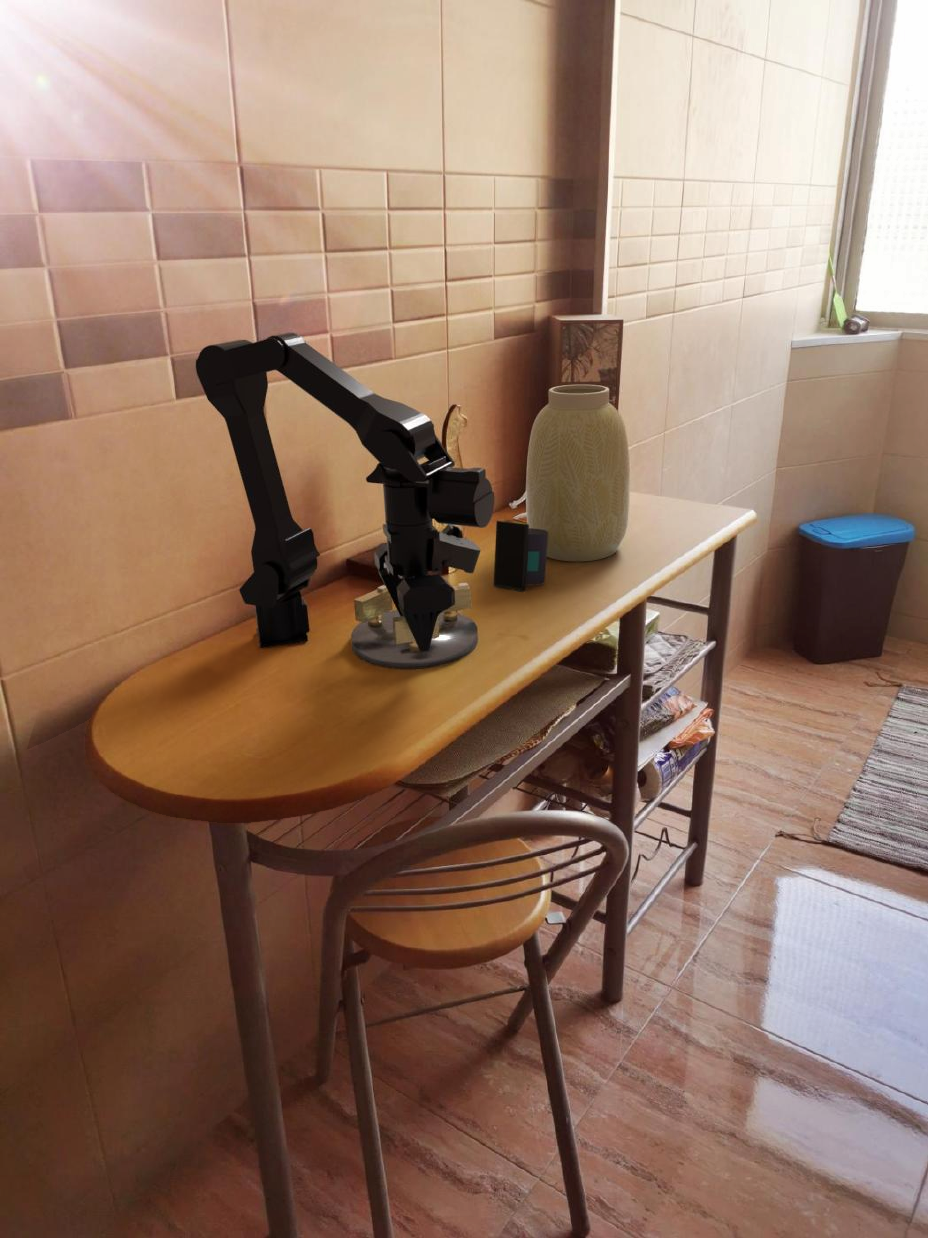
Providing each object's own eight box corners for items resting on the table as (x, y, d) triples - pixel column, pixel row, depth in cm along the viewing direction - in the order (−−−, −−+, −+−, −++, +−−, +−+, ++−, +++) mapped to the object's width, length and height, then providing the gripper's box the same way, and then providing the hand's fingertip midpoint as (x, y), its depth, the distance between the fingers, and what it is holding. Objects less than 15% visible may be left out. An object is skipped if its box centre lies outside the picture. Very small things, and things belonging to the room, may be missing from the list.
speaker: (518, 594, 139) (520, 526, 136) (492, 587, 144) (493, 520, 141) (553, 586, 144) (556, 520, 141) (528, 579, 148) (530, 515, 145)
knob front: (397, 655, 118) (395, 619, 116) (394, 649, 120) (391, 614, 118) (440, 649, 119) (438, 613, 117) (436, 643, 121) (434, 608, 119)
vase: (556, 572, 148) (557, 402, 138) (509, 543, 163) (506, 387, 153) (647, 555, 155) (655, 391, 144) (594, 528, 169) (597, 377, 159)
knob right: (432, 624, 127) (430, 591, 125) (428, 619, 128) (427, 586, 126) (471, 619, 128) (470, 586, 126) (467, 614, 130) (466, 581, 128)
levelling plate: (364, 677, 116) (362, 661, 115) (342, 627, 131) (341, 612, 130) (494, 657, 120) (493, 642, 119) (458, 610, 135) (457, 596, 134)
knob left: (366, 633, 125) (363, 599, 123) (355, 630, 126) (352, 596, 124) (394, 619, 129) (392, 586, 127) (384, 616, 130) (381, 584, 128)
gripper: (495, 533, 106) (498, 656, 112) (452, 493, 123) (457, 602, 129) (400, 544, 104) (408, 670, 110) (369, 502, 120) (378, 613, 126)
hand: (416, 636), depth 119 cm, fingers open, 9 cm apart
